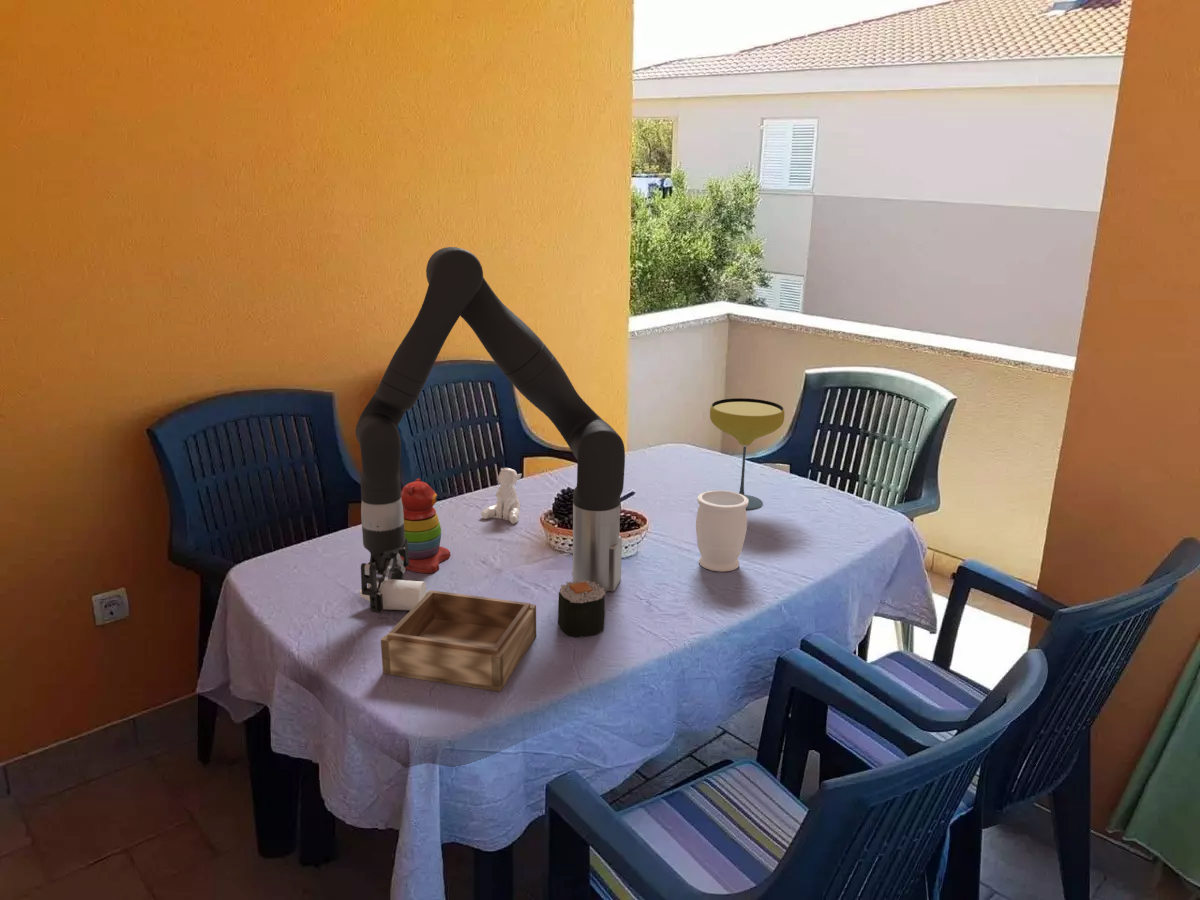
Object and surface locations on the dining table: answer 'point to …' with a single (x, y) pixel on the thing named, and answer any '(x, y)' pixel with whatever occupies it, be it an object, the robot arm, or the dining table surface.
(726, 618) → the dining table surface
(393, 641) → the box
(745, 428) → the cocktail glass
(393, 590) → the roll
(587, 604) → the sushi
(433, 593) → the upper crate
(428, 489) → the stacking bear
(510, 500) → the sitting furry creature
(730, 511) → the jar
